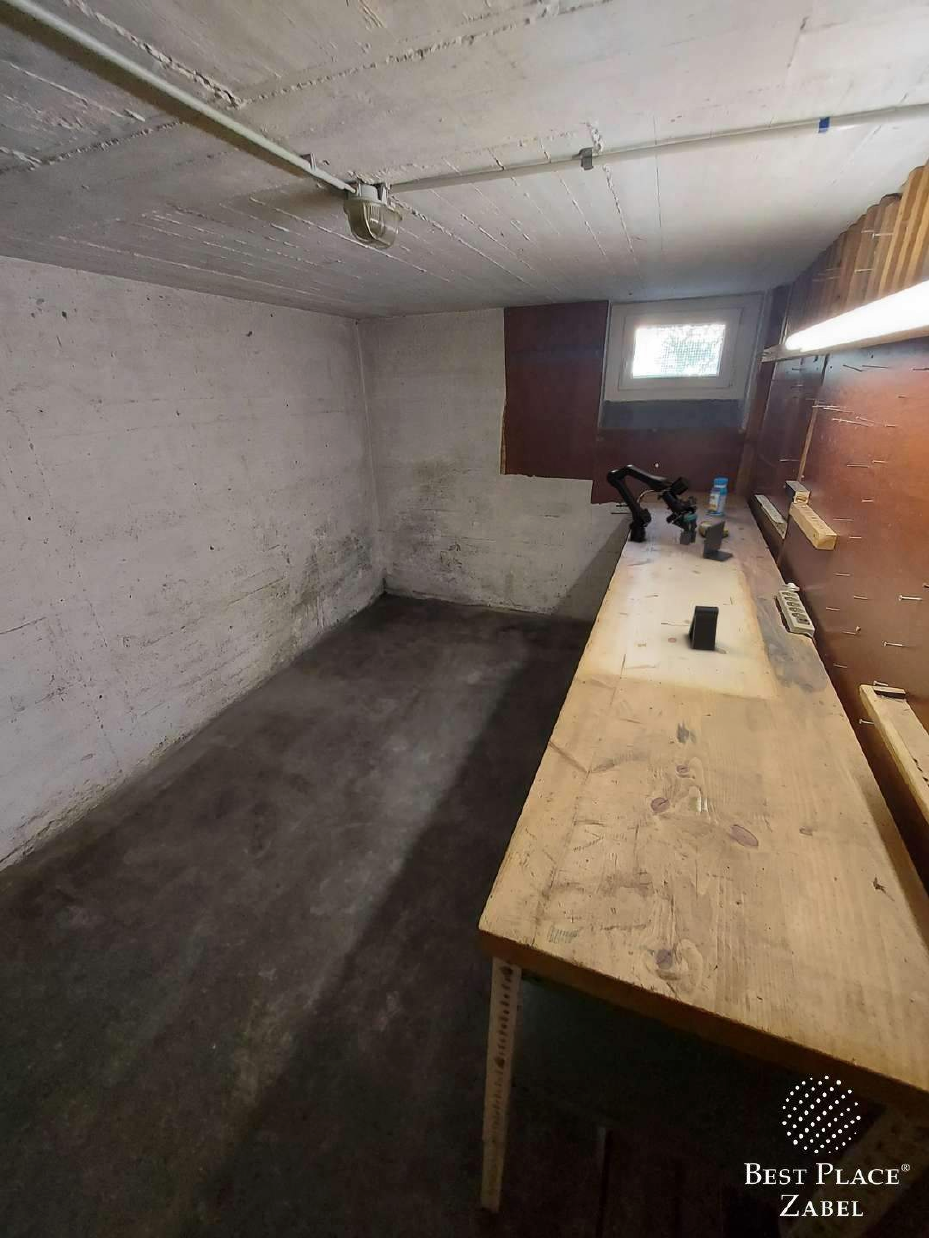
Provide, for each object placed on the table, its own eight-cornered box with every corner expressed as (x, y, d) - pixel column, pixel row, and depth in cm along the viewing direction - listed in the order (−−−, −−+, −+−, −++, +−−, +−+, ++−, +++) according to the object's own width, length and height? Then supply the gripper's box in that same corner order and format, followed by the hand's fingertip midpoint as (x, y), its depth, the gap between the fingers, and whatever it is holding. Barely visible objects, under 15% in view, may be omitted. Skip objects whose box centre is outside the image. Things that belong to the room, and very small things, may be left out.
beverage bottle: (723, 516, 276) (730, 480, 267) (707, 515, 278) (713, 480, 270) (722, 512, 283) (728, 477, 274) (706, 512, 286) (712, 477, 277)
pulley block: (697, 531, 230) (701, 516, 254) (693, 542, 233) (698, 526, 257) (729, 538, 225) (730, 522, 249) (724, 549, 228) (726, 533, 251)
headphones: (679, 544, 224) (683, 516, 218) (686, 540, 228) (691, 513, 222) (687, 545, 221) (692, 517, 215) (695, 542, 225) (699, 514, 219)
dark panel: (690, 556, 218) (696, 525, 211) (705, 549, 226) (710, 518, 219) (720, 562, 209) (726, 530, 202) (734, 555, 217) (740, 523, 210)
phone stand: (687, 635, 152) (693, 600, 147) (708, 636, 151) (715, 601, 146) (692, 648, 145) (698, 612, 139) (714, 650, 143) (721, 614, 138)
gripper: (676, 494, 211) (696, 523, 209) (696, 487, 222) (716, 514, 219) (657, 509, 220) (676, 537, 217) (677, 502, 231) (696, 528, 228)
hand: (692, 529), depth 220 cm, fingers closed on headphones, 7 cm apart
